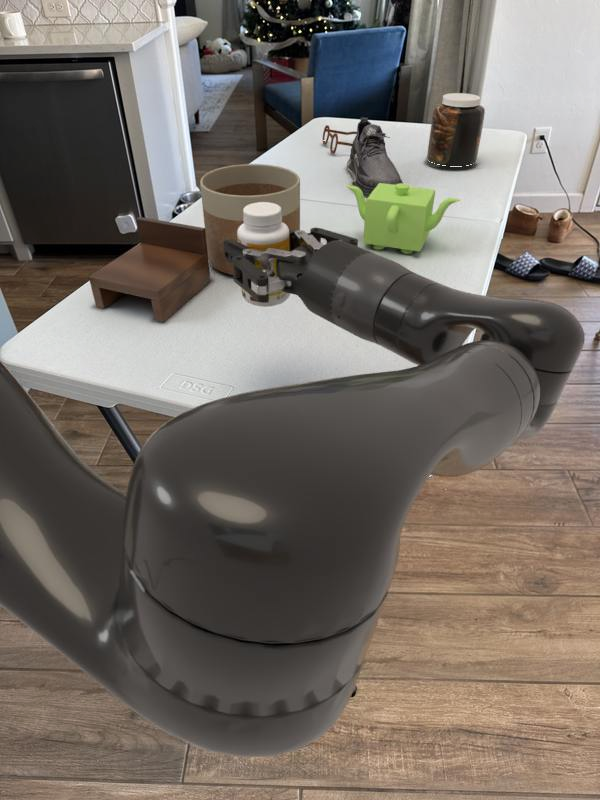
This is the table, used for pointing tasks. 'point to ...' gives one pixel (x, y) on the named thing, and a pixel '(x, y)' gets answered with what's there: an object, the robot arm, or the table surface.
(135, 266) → the shelf
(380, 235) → the teapot
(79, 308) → the table surface
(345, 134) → the glasses
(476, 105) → the jar
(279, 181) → the planter
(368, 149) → the shoe
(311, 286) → the robot arm
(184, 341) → the table surface
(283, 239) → the supplement bottle
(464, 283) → the table surface
